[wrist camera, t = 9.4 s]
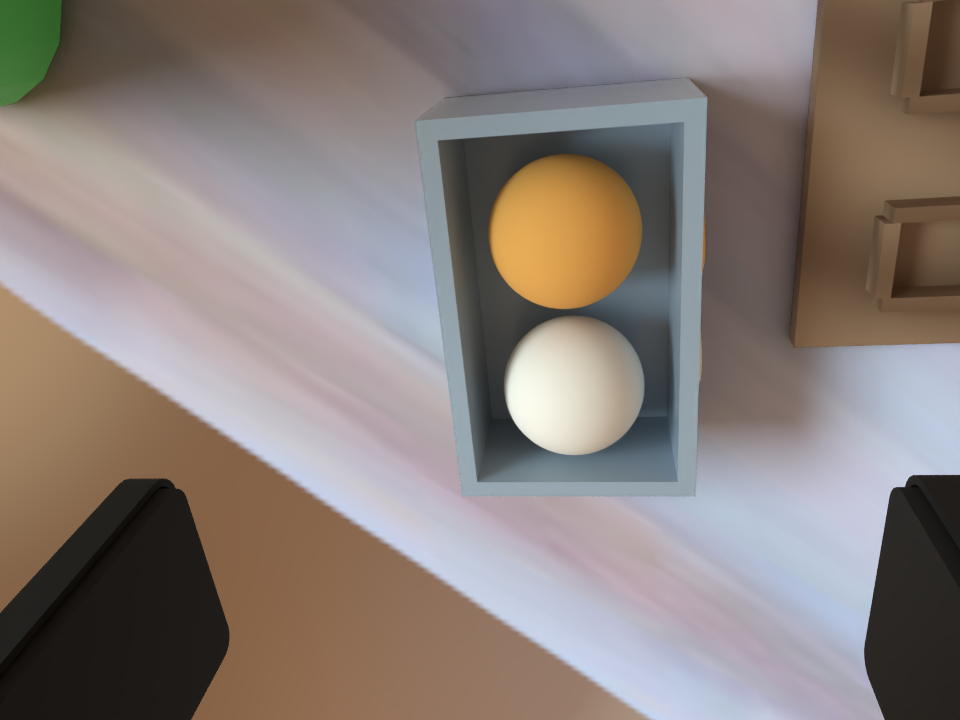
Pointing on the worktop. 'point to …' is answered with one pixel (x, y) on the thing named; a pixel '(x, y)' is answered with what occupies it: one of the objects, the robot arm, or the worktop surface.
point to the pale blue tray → (629, 308)
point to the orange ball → (565, 231)
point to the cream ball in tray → (574, 385)
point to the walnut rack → (881, 177)
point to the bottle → (26, 44)
